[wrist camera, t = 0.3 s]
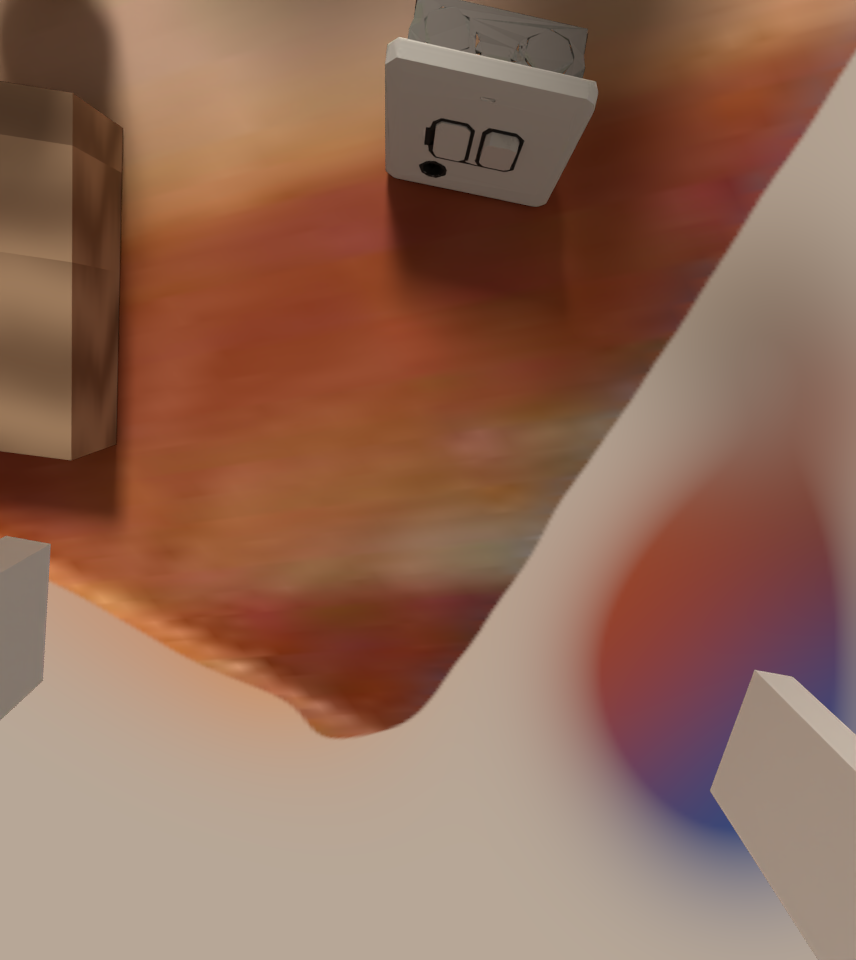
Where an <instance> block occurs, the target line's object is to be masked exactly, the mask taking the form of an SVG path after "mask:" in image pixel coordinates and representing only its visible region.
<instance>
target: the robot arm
mask: <svg viewBox="0 0 856 960" xmlns="http://www.w3.org/2000/svg"><path fill="white" fill-rule="evenodd" d="M50 546H51V544H48V543H42V542H37V541H31V540H26V539H20V538H14V537H9V536H5V537H3V538H1V539H0V720H1V719H2V718H3V717H4V716H5V715H7V714H8V713H9V712H10V711H11V710H12V709H13V708H14V707H15V706H16V705H17V704H18V703H19V702H20V701H22V700H23V699H24V698H25V697H26V696H27V695H28V694H29V693H30V692H31V691H32V690H33V689H34V688H35V687H37V686H38V685H39V684H40V683H41V682H42V681H43V668H44V650H45V632H46V615H47V598H48V581H49V563H50ZM710 791H711V793H712V795H713V796H714V798H715V799H716V801H717V802H718V804H719V805H720V807H721V809H722V810H723V812H724V813H725V815H726V817H727V818H728V820H729V821H730V823H731V824H732V826H733V827H734V829H735V831H736V832H737V834H738V835H739V837H740V838H741V840H742V842H743V843H744V845H745V846H746V848H747V850H748V851H749V853H750V854H751V856H752V857H753V859H754V860H755V862H756V864H757V865H758V867H759V868H760V870H761V871H762V873H763V875H764V876H765V878H766V879H767V881H768V882H769V884H770V886H771V887H772V889H773V890H774V892H775V893H776V895H777V897H778V898H779V900H780V901H781V903H782V904H783V906H784V907H785V909H786V911H787V912H788V914H789V915H790V917H791V918H792V920H793V922H794V923H795V925H796V926H797V928H798V929H799V931H800V933H801V934H802V936H803V937H804V939H805V940H806V942H807V944H808V945H809V947H810V948H811V950H812V951H813V953H814V954H815V956H816V958H817V959H818V960H856V735H855V734H854V733H853V732H852V731H851V730H850V729H849V728H847V726H845V725H844V724H843V723H842V722H841V721H840V720H839V719H838V718H837V717H836V716H835V715H834V714H832V713H831V712H830V711H829V710H828V709H827V708H826V707H825V706H824V705H823V704H822V703H821V702H819V701H818V700H817V699H816V698H815V697H814V696H813V695H812V694H811V693H810V692H809V691H807V690H806V689H805V688H804V687H803V686H802V685H801V684H800V683H799V682H798V681H797V680H796V679H794V678H793V677H791V676H785V675H780V674H774V673H768V672H763V671H757V670H754V673H753V676H752V679H751V681H750V684H749V687H748V689H747V692H746V695H745V698H744V700H743V703H742V706H741V708H740V711H739V714H738V717H737V719H736V722H735V725H734V728H733V730H732V733H731V735H730V738H729V741H728V743H727V746H726V749H725V752H724V755H723V757H722V760H721V762H720V765H719V768H718V771H717V773H716V776H715V779H714V781H713V784H712V787H711V789H710Z"/></svg>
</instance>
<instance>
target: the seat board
mask: <svg viewBox="0 0 856 960" xmlns="http://www.w3.org/2000/svg"><path fill="white" fill-rule="evenodd" d="M122 144H123V128H122V127H120V126H119V125H118V124H116V123H115V122H113V121H112V120H110V119H109V118H108V117H106V116H105V115H103V114H102V113H101V112H99V111H98V110H96V109H95V108H93V107H92V106H91V105H89V104H88V103H86V102H85V101H84V100H82V99H81V98H79V97H78V96H76V95H75V94H74V93H71V92H65V91H58V90H52V89H46V88H40V87H33V86H27V85H21V84H15V83H9V82H2V81H0V451H3V452H11V453H18V454H26V455H34V456H41V457H49V458H57V459H64V460H74V459H77V458H79V457H82V456H85V455H88V454H91V453H93V452H96V451H99V450H102V449H104V448H107V447H110V446H113V445H116V429H117V381H118V334H119V286H120V239H121V192H122Z"/></svg>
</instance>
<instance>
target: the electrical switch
mask: <svg viewBox="0 0 856 960" xmlns="http://www.w3.org/2000/svg"><path fill="white" fill-rule="evenodd" d="M442 6H444V8H441V7H442ZM440 8H441V9H440ZM551 29H552V30H553V31H554V32H553V31H551ZM587 31H588V29H586V28H581V27H577V26H572V25H568V24H564V23H559V22H555V21H550V20H546V19H541V18H537V17H533V16H528V15H524V14H519V13H515V12H510V11H506V10H502V9H497V8H493V7H488V6H484V5H479V4H475V3H471V2H466V1H462V0H416V6H415V13H414V19H413V21H412V23H411V26H410V28H409V34H408V39H406V38H401V37H398V38H396V39H395V40H393V41H392V42H390V43H389V44H387V52H386V61H385V153H386V171H387V172H388V173H389V174H390V175H391V176H393V177H394V178H398V179H403V180H408V181H412V182H417V183H422V184H427V185H432V186H437V187H441V188H446V189H451V190H456V191H461V192H466V193H470V194H475V195H480V196H485V197H490V198H495V199H499V200H504V201H509V202H514V203H519V204H524V205H528V206H534V207H538V206H541V205H544V204H546V202H547V200H548V199H549V197H550V195H551V193H552V191H553V189H554V187H555V185H556V183H557V182H558V180H559V178H560V176H561V174H562V172H563V170H564V168H565V166H566V164H567V162H568V160H569V158H570V157H571V155H572V153H573V151H574V149H575V147H576V145H577V143H578V141H579V139H580V137H581V135H582V133H583V132H584V130H585V128H586V126H587V124H588V122H589V120H590V118H591V116H592V114H593V112H594V110H595V106H596V101H597V97H598V89H597V84H596V81H592V80H587V79H583V74H584V70H585V62H584V52H585V47H586V41H587V35H588V33H587ZM476 34H478V37H479V40H480V42H479V43H478V45H477V47H476V48H475V43H476ZM527 40H529V41H528V43H527ZM425 42H426V43H425ZM518 44H519V52H518V51H517V50H516V49H517V47H518ZM569 44H570V45H571V48H570V45H569ZM477 53H480V55H477ZM481 53H482V54H481ZM512 61H516V62H512ZM527 61H528V62H529V64H530V65H531V67H530V66H529V65H528V64H527ZM565 71H566V72H565ZM564 72H565V74H563V73H564Z"/></svg>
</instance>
